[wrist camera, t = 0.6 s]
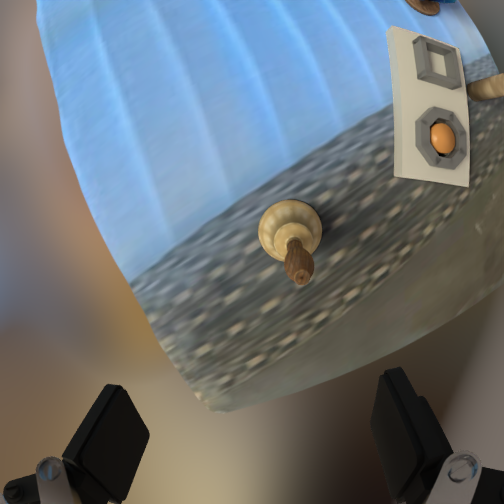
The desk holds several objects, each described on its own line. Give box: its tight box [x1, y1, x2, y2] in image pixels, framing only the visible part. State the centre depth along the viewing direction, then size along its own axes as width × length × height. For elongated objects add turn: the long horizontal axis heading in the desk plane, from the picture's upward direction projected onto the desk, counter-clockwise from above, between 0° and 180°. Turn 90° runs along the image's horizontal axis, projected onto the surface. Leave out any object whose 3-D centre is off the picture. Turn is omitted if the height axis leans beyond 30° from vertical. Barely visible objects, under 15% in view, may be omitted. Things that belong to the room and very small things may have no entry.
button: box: [430, 123, 455, 153], centre depth 29 cm, size 4×4×2 cm
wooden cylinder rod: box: [467, 73, 504, 102], centre depth 23 cm, size 3×3×12 cm
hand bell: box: [258, 200, 322, 285], centre depth 29 cm, size 8×8×16 cm
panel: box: [386, 26, 470, 187], centre depth 28 cm, size 22×12×5 cm, turn 0°
